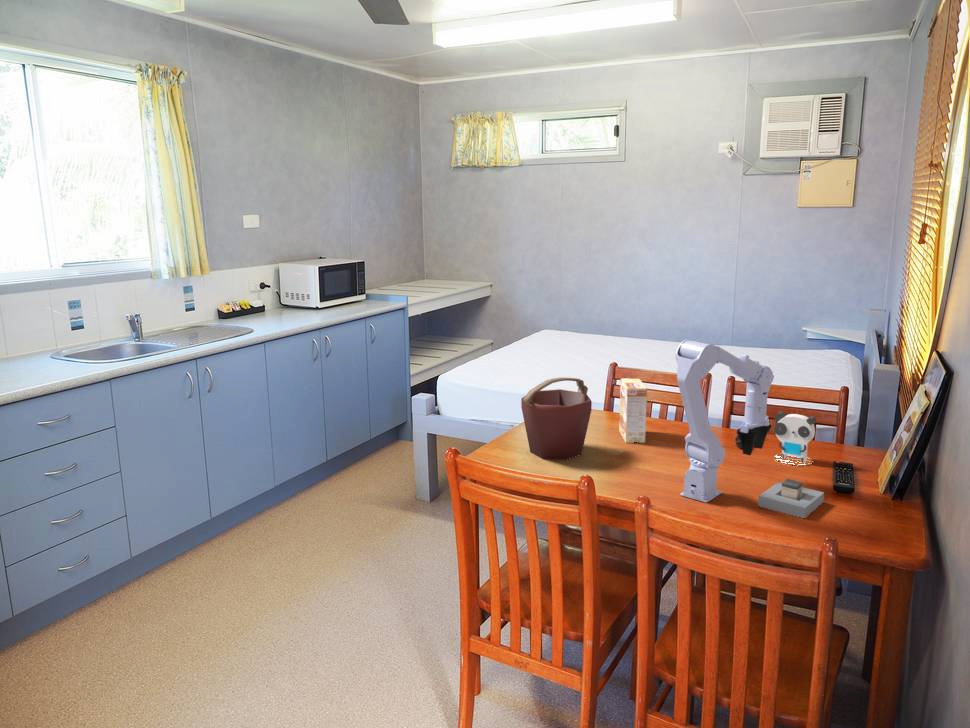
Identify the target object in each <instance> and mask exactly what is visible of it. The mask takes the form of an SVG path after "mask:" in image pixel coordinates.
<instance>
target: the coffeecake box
mask: <svg viewBox="0 0 970 728" xmlns="http://www.w3.org/2000/svg"><path fill="white" fill-rule="evenodd" d="M619 392H620V393H619V394H620V395H619V399H620V400H619V425H618V428H619V429H618V431H619V433H620V434H621V437H622V438H623V440H624V442H625V443H626V442H627V443H626V444H635V443H634V442H637V443H636V444H645V443H646V425H647V403H648V401H647V395H648V387H646V385H645V384H644V382H642V380H641V379H640V378H626V377H625V378H620V391H619ZM628 442H629V443H628ZM638 442H639V443H638Z"/></svg>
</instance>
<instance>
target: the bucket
mask: <svg viewBox="0 0 970 728" xmlns="http://www.w3.org/2000/svg"><path fill="white" fill-rule="evenodd" d="M563 381H565V382H566V381H569V382H571V381H572V382H576V386H577V391H573V390H566V389H560V388H558V389H545V388H546V387H548V386H551V384H553V383H558V382H563ZM543 389H545V390H543ZM588 391H589V387H587V385H585V382H584V380H582V379H581V378H576V377H555V378H554V377H553V378H549V379H546V380H544V381H541V382H540V383H539V384H537V385H536V386H535V387H533V388H531V389H529V390H528V392H527V393H526V395H524V396H523V397H521V400H520V401H521V402H520V405H521V407H520V408H521V412H522V417H523V421H524V422H523V423H524V427H525V431H526V437H527V442H528V448H529V452H530V453H531V454H533V455H535V456H537V457H538V458H540V459H541V460H551V461H552V460H554V461H555V460H558V461H567V459H568V460H570V459H569V458H571V459H573V458H572V457H574V458H576V457H575V456H577V457H579V456H578V455H580V456H582V454H583V448H584V445H585V440H586V438H587V437H586V436H587V431H588V427H589V423H590V419H591V415H592V414H591V413H592V406H593V405H592V404H593V403H592V399H591V398H590V396H589V395H588Z"/></svg>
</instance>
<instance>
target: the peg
mask: <svg viewBox="0 0 970 728" xmlns="http://www.w3.org/2000/svg"><path fill="white" fill-rule="evenodd" d="M781 482H782V481H781ZM803 484H804V482H803V481H799V480H794V479H790V478H786V479H785V480H784V481H783V482H782V490H781V496H783V497H787V498H791V499H794V500H798V501H800V500H801V499H802V488H803V486H804V485H803Z"/></svg>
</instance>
